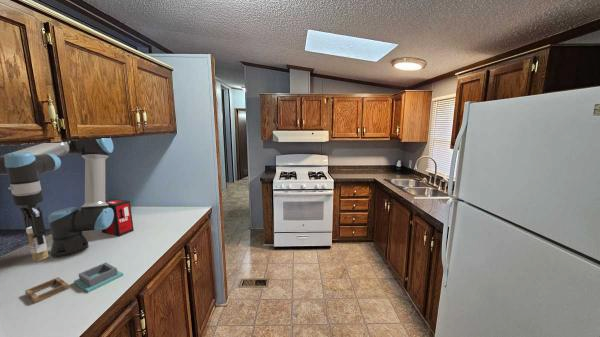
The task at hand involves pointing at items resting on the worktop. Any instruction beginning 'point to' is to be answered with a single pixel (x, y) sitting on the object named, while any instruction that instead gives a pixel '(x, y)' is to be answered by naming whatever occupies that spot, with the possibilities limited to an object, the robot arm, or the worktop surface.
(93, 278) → the plate
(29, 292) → the stand collar
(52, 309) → the worktop surface
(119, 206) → the cleaning product box
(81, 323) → the worktop surface
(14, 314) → the worktop surface
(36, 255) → the sprinkles bottle
